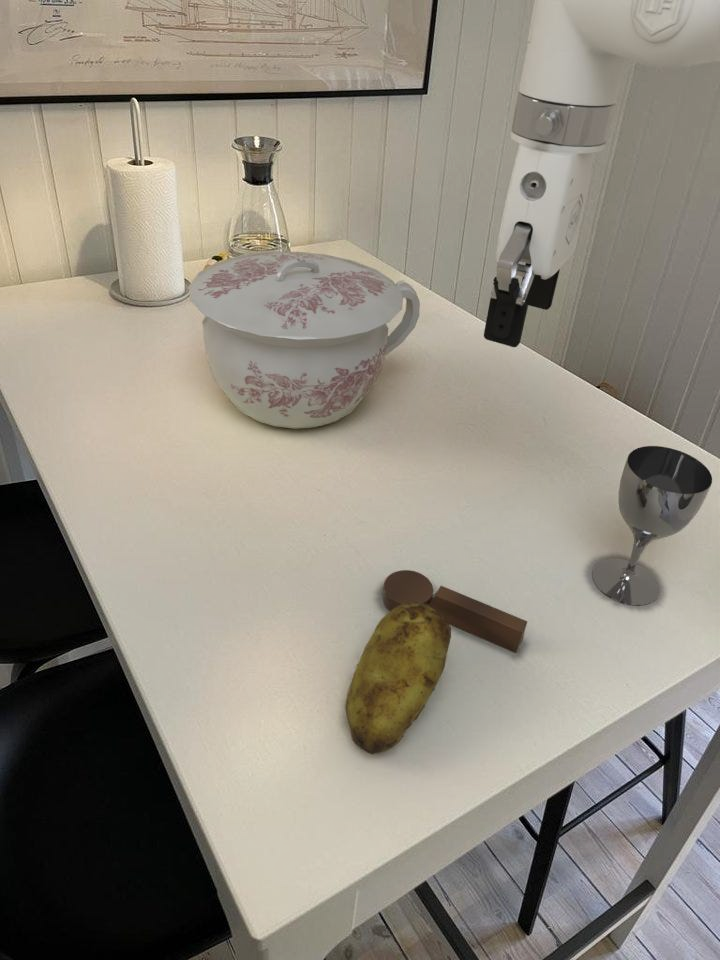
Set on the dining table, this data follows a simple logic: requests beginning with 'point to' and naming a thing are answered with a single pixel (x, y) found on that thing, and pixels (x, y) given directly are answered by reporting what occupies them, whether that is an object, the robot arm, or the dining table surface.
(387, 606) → the wooden spoon
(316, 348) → the chamber pot
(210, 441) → the dining table surface
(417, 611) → the potato
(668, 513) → the wine glass
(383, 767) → the dining table surface
